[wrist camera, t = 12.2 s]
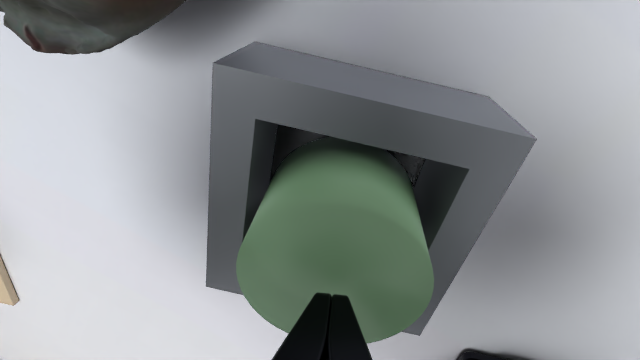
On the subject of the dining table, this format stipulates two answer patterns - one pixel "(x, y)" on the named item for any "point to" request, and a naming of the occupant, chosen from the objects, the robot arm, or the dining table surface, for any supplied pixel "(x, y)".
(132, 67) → the dining table surface
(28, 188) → the dining table surface
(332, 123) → the button box
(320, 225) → the button
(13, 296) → the kraft sheet
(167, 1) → the lucky cat figurine
